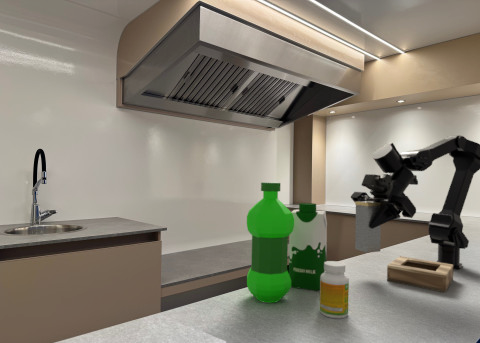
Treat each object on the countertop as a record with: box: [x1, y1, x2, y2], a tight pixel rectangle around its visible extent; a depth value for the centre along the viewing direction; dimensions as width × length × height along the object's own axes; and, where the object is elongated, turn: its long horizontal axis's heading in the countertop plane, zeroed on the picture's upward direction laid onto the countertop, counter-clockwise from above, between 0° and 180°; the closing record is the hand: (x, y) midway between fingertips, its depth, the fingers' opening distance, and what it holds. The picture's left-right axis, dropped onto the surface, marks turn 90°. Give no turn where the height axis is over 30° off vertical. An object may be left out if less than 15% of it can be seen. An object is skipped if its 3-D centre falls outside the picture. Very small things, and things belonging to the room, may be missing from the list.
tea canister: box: [354, 201, 382, 253], centre depth 91 cm, size 5×5×13 cm
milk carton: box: [288, 202, 328, 292], centre depth 83 cm, size 9×9×20 cm
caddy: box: [386, 255, 454, 294], centre depth 88 cm, size 13×13×4 cm
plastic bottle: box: [246, 182, 294, 304], centre depth 73 cm, size 10×10×25 cm
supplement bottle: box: [319, 260, 350, 319], centre depth 66 cm, size 5×5×10 cm
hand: (364, 226), depth 91 cm, fingers closed on tea canister, 4 cm apart
